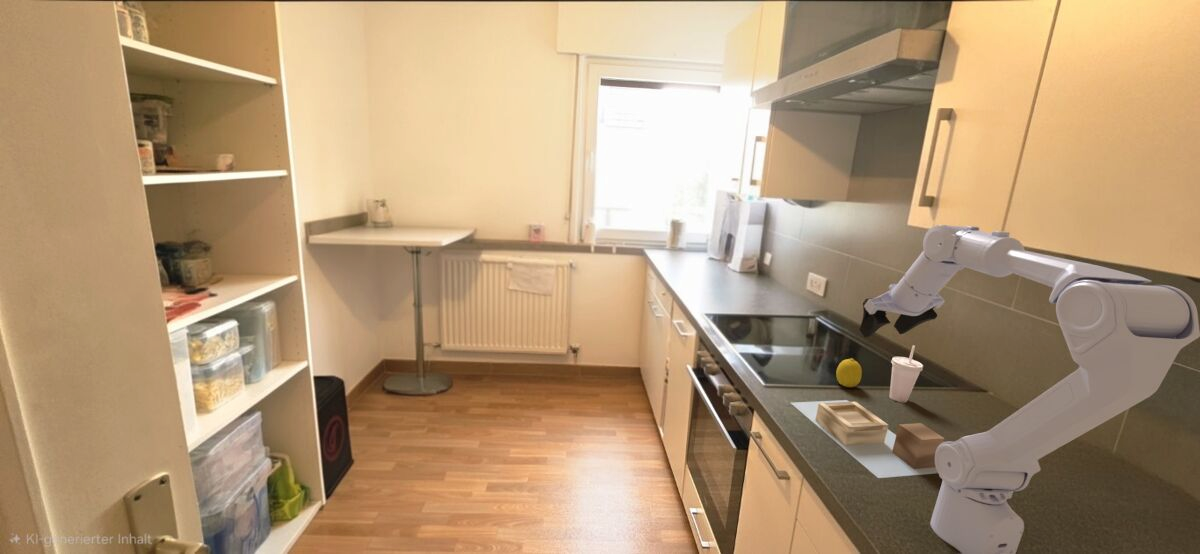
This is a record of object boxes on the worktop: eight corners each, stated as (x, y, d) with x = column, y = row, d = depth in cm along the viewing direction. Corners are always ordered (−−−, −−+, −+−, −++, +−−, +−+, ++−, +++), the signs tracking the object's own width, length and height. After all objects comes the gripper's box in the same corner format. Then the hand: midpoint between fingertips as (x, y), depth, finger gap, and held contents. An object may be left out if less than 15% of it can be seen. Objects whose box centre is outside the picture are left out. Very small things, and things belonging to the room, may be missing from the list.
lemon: (861, 395, 115) (868, 364, 113) (836, 391, 116) (843, 361, 114) (853, 385, 120) (860, 356, 118) (830, 381, 121) (837, 352, 119)
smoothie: (897, 405, 111) (911, 350, 108) (877, 392, 117) (889, 339, 114) (920, 404, 112) (934, 350, 109) (898, 391, 118) (912, 339, 115)
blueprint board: (947, 475, 86) (948, 472, 86) (877, 482, 82) (878, 478, 82) (846, 403, 110) (847, 400, 110) (789, 405, 107) (790, 402, 107)
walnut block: (936, 467, 87) (944, 438, 85) (913, 469, 86) (921, 439, 84) (913, 450, 91) (921, 423, 90) (891, 452, 90) (899, 424, 89)
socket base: (884, 442, 93) (888, 424, 92) (845, 445, 91) (849, 427, 90) (851, 418, 102) (855, 401, 101) (815, 420, 100) (818, 403, 99)
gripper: (941, 264, 85) (901, 312, 95) (871, 269, 83) (837, 318, 92) (969, 293, 81) (923, 341, 90) (895, 299, 78) (856, 348, 88)
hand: (881, 331), depth 91 cm, fingers open, 7 cm apart
